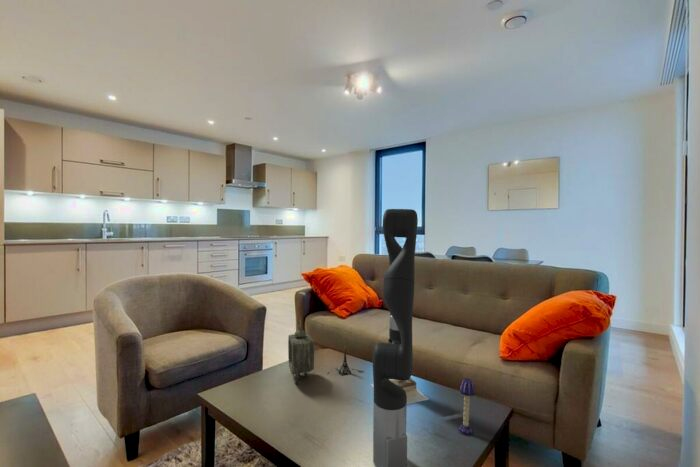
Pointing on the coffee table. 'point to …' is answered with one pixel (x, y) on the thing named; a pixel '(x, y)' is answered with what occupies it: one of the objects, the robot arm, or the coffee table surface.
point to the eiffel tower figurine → (345, 367)
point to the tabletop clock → (300, 352)
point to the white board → (414, 397)
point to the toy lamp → (466, 405)
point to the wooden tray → (406, 386)
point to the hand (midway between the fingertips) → (398, 369)
